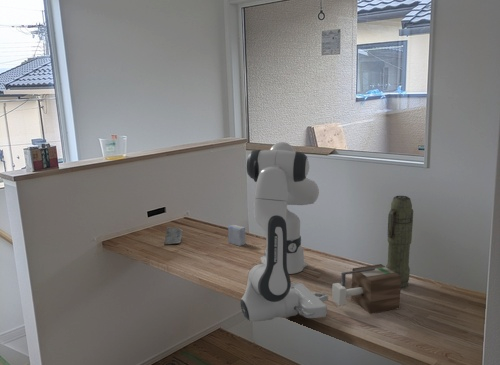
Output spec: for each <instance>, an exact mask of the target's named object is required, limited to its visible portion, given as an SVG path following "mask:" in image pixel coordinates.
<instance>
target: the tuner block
mask: <svg viewBox="0 0 500 365" xmlns="http://www.w3.org/2000/svg"><path fill="white" fill-rule="evenodd" d="M370 268H374V269H375V270H372V271H365V272H359V273H352V275H351V276H352V277H351V288H358V287H363V288H364V291H363V294H359V295H353V296H350V298H351V300H352V301H353V303H355V304H356V305H357V306H359V307H361V309H363V310H364V311H365V312H367V313H368V314H370V315H372V314H377V313H382V312H386V311H387V312H388V311H393V310H398V309H399V310H400V305H401V304H400V303H401V290H402V289H401V276H400V275H399V274H397V273H395V272H394V271H392V270H390V269H389V268H387V267H386V266H385V265H383V264H381V263H380V264H373V265H367V266H358V267H353V268H352V271H357V270H364V269H370Z"/></svg>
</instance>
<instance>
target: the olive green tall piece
mask: <svg viewBox="0 0 500 365" xmlns="http://www.w3.org/2000/svg"><path fill="white" fill-rule="evenodd" d="M387 215H388V217H387V218H388V219H387V220H388V221H387V243H388V249H387V263H386V266H385V267H387V268H389V269H390V270H392V271H394V272H395V273H397V274H399V275H400V276H401V290H402V289H406V288H408V287H409V280H410V273H411V272H410V271H411V269H410V266H409V262H410V249H411V248H410V247H411V244H412V236H413V221H414V209H413V204H412V201H411V197H409V196H406V195H396V196H394V197H393V198H392V201H391V205H390V210H389V213H388V214H387Z"/></svg>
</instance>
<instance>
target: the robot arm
mask: <svg viewBox="0 0 500 365" xmlns="http://www.w3.org/2000/svg"><path fill="white" fill-rule="evenodd" d="M308 159H309V158H308V156H307V155H306V154H305V153H303V152H300V151H295V149H294V148H293V146H292V145H291V144H289V143H288V142H284V141H280V142H276V143H275V144H273V145H272V146H271V147H270V149H265V150H263V149H255V150H251V151H250V152H249V153H248V155H247V158H246V161H245V169H246V173H247V175H248V177H250V179H252V180H253V181H254V182H255V183H256V185H255V189H254V195H253V196H254V197H253V216H254V217H253V218H254V220H255V223H257V225H258V226H259V227H260V228H261V230H262V231H263V232H264V236H265V240H266V248H265V251H264V252H263V256H260V261H261V263H258V264H255V265H253V266H252V267H251V268H250V269H249V271H248V275H247V283H246V288H245V292H244V294H243V295H242V297H241V299H240V309H241V311H242V312H241V313H242V314H243V316H244V318H246V319H247V321H249V322H265V321H272V320H274V319H275V318H280V319H283V318H288V317H294V316H297V315H298V314H299V316H303V317H304V318H307V319H318V318H324V317H326V316H327V314H328V306H327V304H326V303H324V302H327V301H329V295H327V294H326V293H325V292H317V291H316V292H315V291H313V292H312V291H311V290H310V289H309V288H307V286H306V285H304V284H303V283H302V282H293V283H292V281H291V277H290V275H292V274H297V273H300V272H302V271H303V270H304V269H305V268H307V266H308V264H307V262H306V261H305V253H304V252H305V251H304V247H303V246H301V245H302V236H301V219H300V217H299V216H298V215H297V214H296V213H294V212H293V211H290V210H289V209H288V206H308V205H314V204H315V202H317V200H318V198H319V196H320V195H319V194H320V190H319V186H318V184H317V182H315V181H314V180H312V179H309V178H307V176H308V175H309V172H310V162H309V160H308Z"/></svg>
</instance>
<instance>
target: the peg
mask: <svg viewBox="0 0 500 365" xmlns="http://www.w3.org/2000/svg"><path fill="white" fill-rule="evenodd" d="M372 270H375V269H374V268H370V269H364V270H357V271H351V270H350V271H345V272H341V273H340V276H341V278H340V282H334V283H332V286H331V288H332V290H331V291H332V292H331V293H332V294H331V295H332V296H331V300H332V301H333V302H334V303H335V304H336V305H337V306H340V307H341V306H345V305H347V304H346V300H347V298H346V297H351V296H353V295H359V294H363V291H364V288H363V287H358V288H352V287H351V288H346V287H345V286H346V275H350V274H352V273H359V272H365V271H372Z"/></svg>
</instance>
